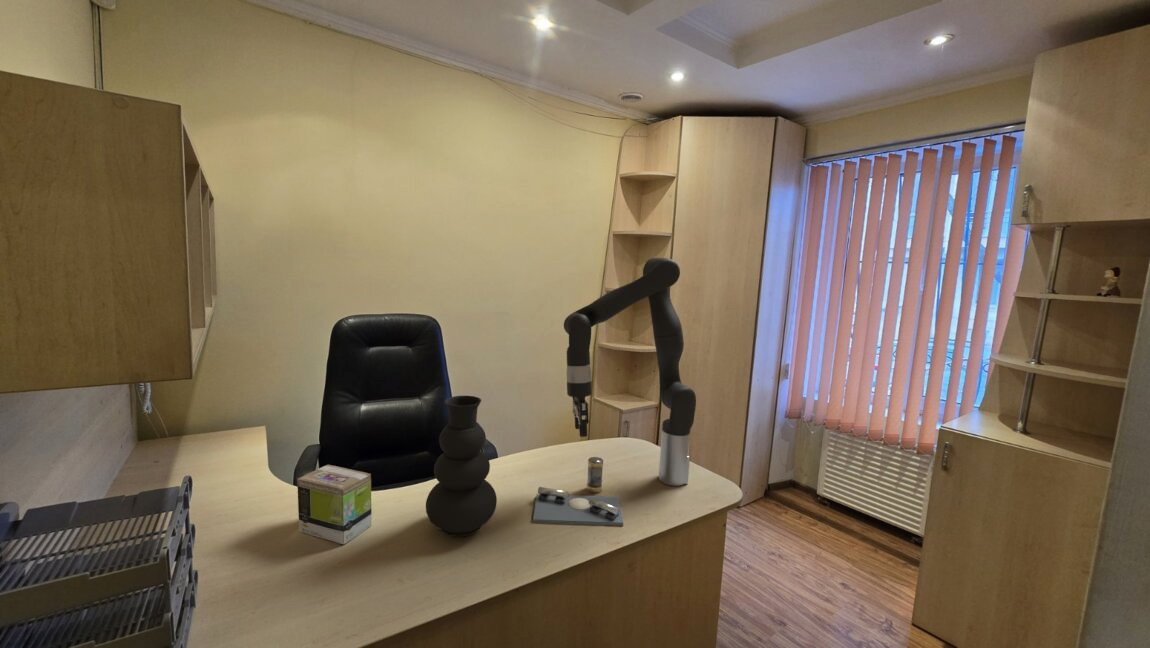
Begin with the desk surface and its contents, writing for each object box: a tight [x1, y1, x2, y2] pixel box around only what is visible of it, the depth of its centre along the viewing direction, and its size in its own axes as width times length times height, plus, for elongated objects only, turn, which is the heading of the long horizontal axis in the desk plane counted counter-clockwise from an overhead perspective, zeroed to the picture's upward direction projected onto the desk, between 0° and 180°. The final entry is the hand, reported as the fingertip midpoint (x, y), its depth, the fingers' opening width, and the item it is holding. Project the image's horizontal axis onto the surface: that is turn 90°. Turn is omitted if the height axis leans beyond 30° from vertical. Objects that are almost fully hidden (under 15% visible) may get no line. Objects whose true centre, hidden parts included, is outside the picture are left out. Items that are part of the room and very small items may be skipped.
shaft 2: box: [589, 498, 619, 521], centre depth 134 cm, size 9×4×4 cm, turn 56°
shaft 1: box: [537, 486, 570, 504], centre depth 140 cm, size 9×4×4 cm, turn 76°
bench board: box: [532, 493, 624, 527], centre depth 136 cm, size 25×14×1 cm, turn 91°
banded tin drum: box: [586, 456, 604, 494], centre depth 149 cm, size 5×5×10 cm
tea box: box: [296, 464, 373, 545], centre depth 121 cm, size 15×10×15 cm, turn 71°
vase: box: [425, 395, 498, 537], centre depth 123 cm, size 18×18×35 cm
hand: (580, 432), depth 142 cm, fingers open, 8 cm apart
